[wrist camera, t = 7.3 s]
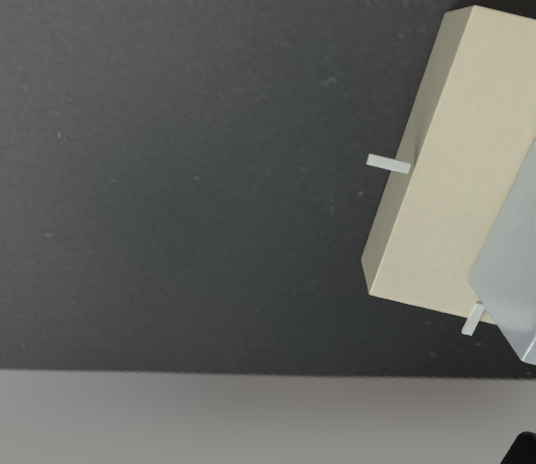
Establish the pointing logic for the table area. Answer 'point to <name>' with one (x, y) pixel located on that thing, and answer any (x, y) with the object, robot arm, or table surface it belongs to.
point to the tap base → (455, 163)
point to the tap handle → (512, 265)
